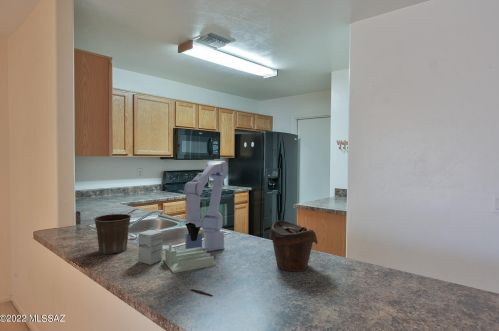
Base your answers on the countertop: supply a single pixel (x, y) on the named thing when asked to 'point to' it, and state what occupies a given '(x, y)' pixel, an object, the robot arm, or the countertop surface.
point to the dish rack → (187, 259)
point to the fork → (193, 290)
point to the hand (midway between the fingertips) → (193, 240)
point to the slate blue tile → (193, 244)
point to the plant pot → (112, 232)
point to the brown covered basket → (292, 245)
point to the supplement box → (150, 246)
